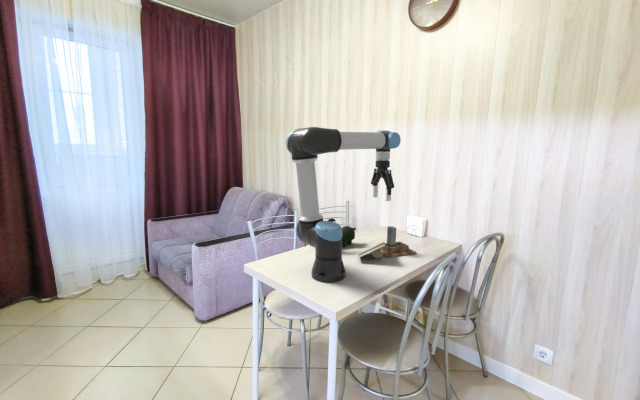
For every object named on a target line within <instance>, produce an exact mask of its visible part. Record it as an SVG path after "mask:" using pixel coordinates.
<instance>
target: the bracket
mask: <svg viewBox="0 0 640 400" xmlns="http://www.w3.org/2000/svg"><path fill="white" fill-rule="evenodd" d="M386 228H387V231H386V234H387V235H386V243H387V246H389V247H396V246H401V245H396V242H397V227H395V226H392V225H391V226H387V227H386Z"/></svg>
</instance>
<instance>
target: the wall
mask: <svg viewBox="0 0 640 400" xmlns="http://www.w3.org/2000/svg"><path fill="white" fill-rule="evenodd" d="M385 243H386V242H385V240H384V241H380V242H379V243H377V244H375V245H373V246H371V247H369V248H366V249H363V250H362V251H360V252H358V254H357V259H360V258H362V257H364V256H366V255H368V254H371V255H372V256H373V257H374V258H375V259H376V260H377V259H379V258H381V257H383V256H384V255H382V253H381V250H380V248H381V247H383V246H386V245H385Z"/></svg>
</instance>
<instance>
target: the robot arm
mask: <svg viewBox="0 0 640 400" xmlns="http://www.w3.org/2000/svg"><path fill="white" fill-rule="evenodd" d="M401 139H402V138H401V135H400V133H399V132H395V131H394V132H393V131H391V130H377V131H376V132H374V131H372V132H371V131H370V132H369V131H340V130H338V129H337V128H324V127H320V126H319V127H318V126H310V127H301V128H300V127H299V128H297V129H293V130H291V132H289V133H288V135H287V137H286V139H285V140H286V141H285V145H286V147H285V148H286V149H287V151H288V152H289V153H290V154H291V161H292V162H293V163H295V169H296V176H297V177H296V178H297V189H298V198H299V207H300V208H299V209H300V215H299V216H298V221H297V224H296V226H295V234H296V237H297V239H298V240H299V241H301V242H302V243H303V244H306V245H309V246H310V247H313V248H314V249H315V259H314V262H313V265H312V268H311V277H312V278H313V279H314V280H316V281H319V282H322V283H334V282H339V281H342V280H343V279H345V277H346V271H347V270H346V268H345V264H344V261H343V246H342V236H343V234H342V226H341V225H340V224H339V223H337V222H336V221H335V222H334V221H333V222H330V221H328V220H324V216H323V214H321V213H320V206H319V195H318V186H317V185H318V183H317V175H316V174H317V173H316V161H317V159H318V158H319V157H318V156H319V155H322V154H328V153H338V152H340V151H342V150H345V151H346V150H374V149H375V168H374V169H373V174H372V176H371V177H372V178H371V181H370V184H371V185H372V198H378V197H379V185H378V184H379V183H380V180H381V178H382V180H383V182H384V184H385V186H386V188H385V202H392V189H395V185H394V180H393V175H392V169H389V168H390V166H391V165H390V164H391V161H390V160H391V149H397V148H398V147H400V144H401Z"/></svg>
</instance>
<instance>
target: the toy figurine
mask: <svg viewBox="0 0 640 400" xmlns="http://www.w3.org/2000/svg"><path fill="white" fill-rule="evenodd" d="M327 221H330V222H335V223H336V219H335V218H334V217H330V218H329V219H327ZM341 228H342V234H343V236H342V247H346V246H347V245H351V244H352V243H353V240H355V238H356V233H355V231H356V230H357V229H356V227H351V226H349V225H345V226H341Z"/></svg>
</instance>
